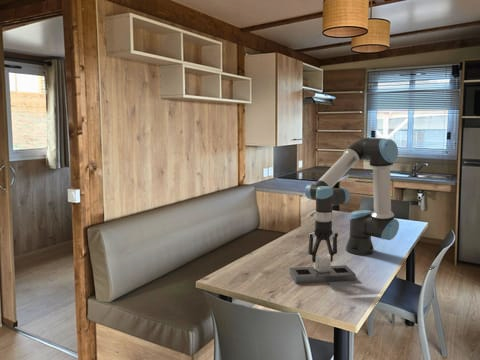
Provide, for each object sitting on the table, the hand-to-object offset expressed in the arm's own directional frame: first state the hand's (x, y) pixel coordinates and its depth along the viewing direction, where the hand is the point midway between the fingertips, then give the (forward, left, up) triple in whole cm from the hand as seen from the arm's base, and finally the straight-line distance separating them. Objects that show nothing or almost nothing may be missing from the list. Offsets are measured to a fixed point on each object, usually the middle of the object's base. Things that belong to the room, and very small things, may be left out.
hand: (322, 268), depth 193 cm
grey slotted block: (0, 0, -5) cm, 5 cm away
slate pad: (-6, +11, -5) cm, 14 cm away
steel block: (0, 0, -4) cm, 4 cm away
